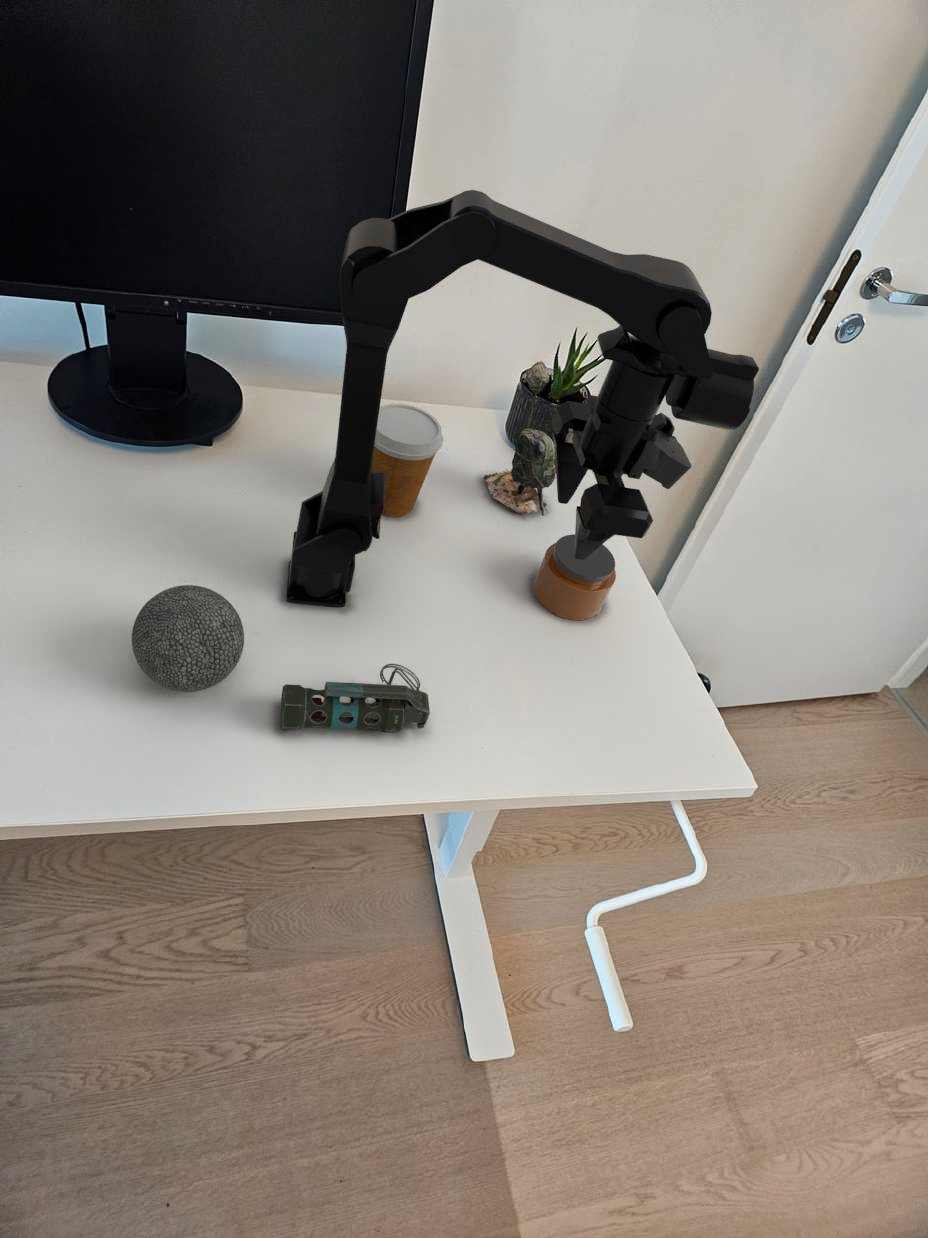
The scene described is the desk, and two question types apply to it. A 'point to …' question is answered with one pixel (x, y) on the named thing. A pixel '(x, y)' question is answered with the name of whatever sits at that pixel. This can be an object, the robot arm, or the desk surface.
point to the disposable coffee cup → (404, 454)
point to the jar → (574, 580)
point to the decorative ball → (187, 638)
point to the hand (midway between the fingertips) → (570, 529)
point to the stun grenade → (356, 705)
